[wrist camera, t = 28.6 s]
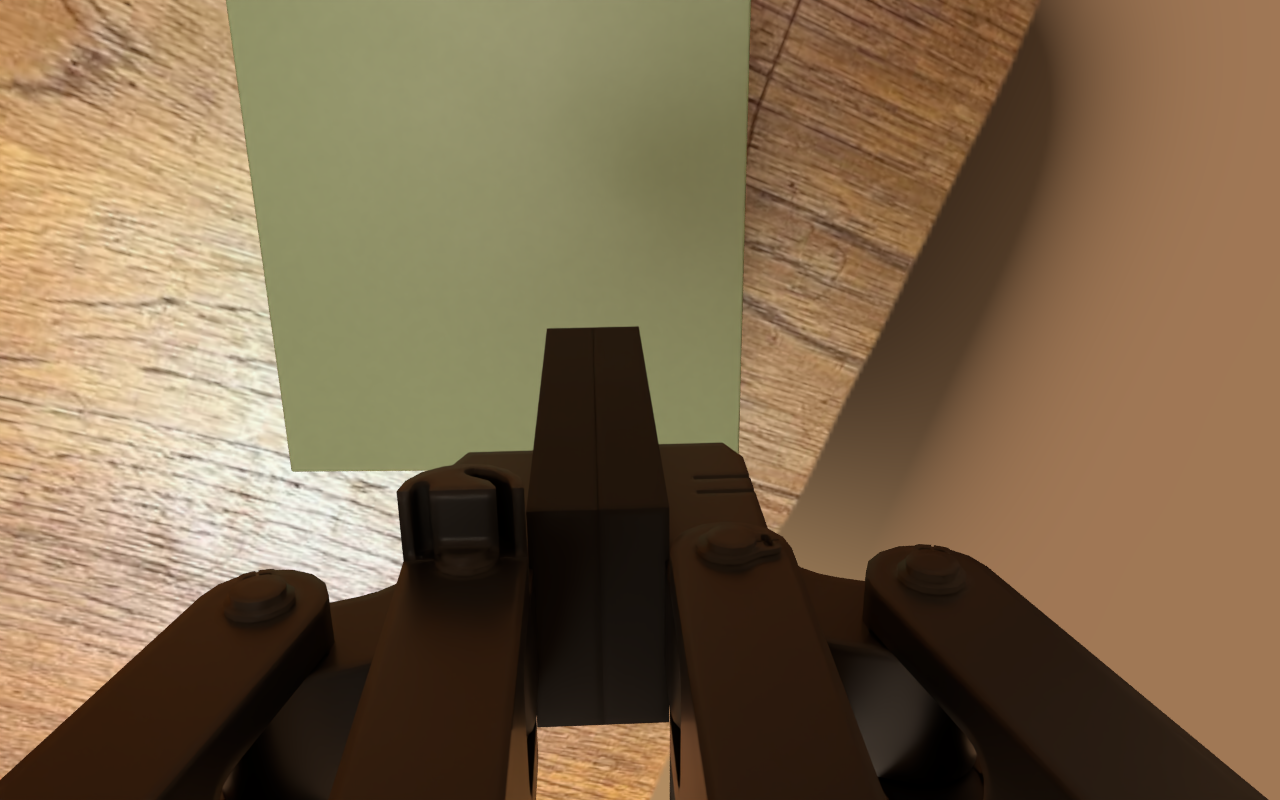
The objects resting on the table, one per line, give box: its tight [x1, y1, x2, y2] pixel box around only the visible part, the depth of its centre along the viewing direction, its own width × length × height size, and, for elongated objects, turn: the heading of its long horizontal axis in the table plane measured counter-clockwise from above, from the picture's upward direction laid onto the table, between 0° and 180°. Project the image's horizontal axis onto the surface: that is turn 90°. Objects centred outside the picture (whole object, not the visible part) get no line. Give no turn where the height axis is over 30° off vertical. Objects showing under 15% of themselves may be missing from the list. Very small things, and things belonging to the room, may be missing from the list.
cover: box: [226, 0, 751, 472], centre depth 31 cm, size 14×16×1 cm
